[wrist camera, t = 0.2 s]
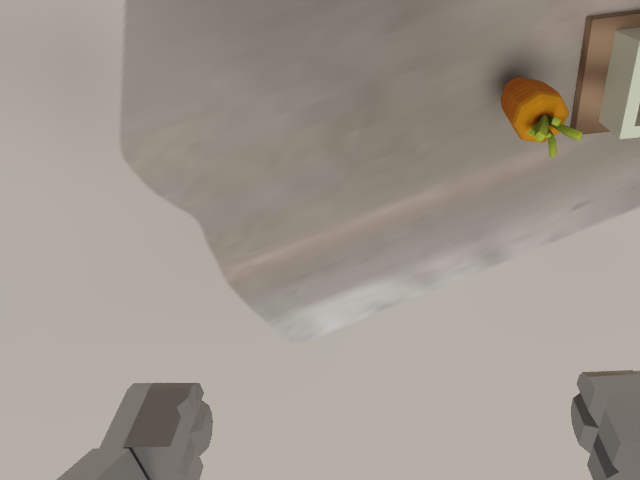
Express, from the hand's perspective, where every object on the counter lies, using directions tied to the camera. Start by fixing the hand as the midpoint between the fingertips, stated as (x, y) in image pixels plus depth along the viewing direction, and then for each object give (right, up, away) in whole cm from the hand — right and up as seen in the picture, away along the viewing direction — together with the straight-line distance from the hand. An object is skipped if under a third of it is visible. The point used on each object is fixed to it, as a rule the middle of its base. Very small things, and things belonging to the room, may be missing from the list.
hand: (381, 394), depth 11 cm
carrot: (+19, +20, +43) cm, 51 cm away
